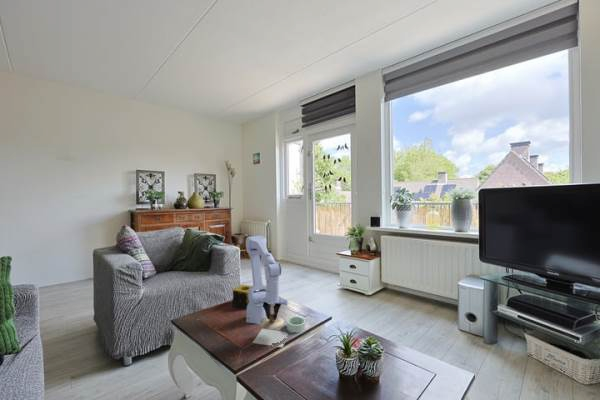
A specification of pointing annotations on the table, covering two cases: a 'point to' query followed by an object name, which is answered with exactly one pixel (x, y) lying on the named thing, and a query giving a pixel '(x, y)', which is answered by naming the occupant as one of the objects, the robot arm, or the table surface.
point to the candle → (241, 296)
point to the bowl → (296, 324)
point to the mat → (270, 337)
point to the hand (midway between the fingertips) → (272, 318)
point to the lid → (271, 322)
